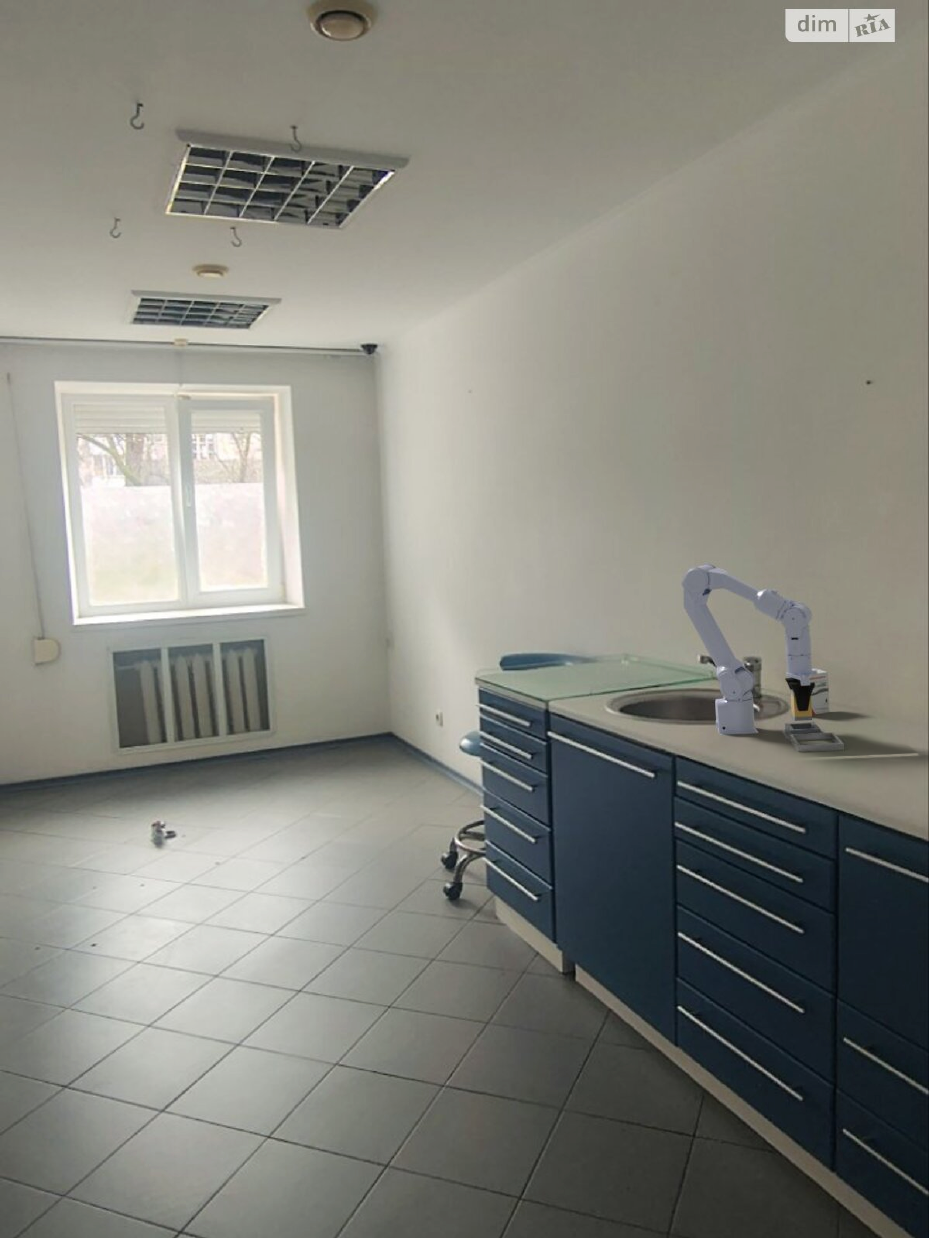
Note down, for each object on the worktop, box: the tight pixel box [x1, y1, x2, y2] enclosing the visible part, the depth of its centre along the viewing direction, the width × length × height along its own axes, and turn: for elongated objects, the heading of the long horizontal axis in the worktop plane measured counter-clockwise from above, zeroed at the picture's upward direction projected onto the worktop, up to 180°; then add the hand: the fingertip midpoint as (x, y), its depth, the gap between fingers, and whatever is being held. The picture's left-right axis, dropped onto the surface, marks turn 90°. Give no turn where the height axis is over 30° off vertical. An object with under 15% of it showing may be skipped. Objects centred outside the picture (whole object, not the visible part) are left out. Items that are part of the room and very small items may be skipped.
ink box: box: [790, 668, 830, 716], centre depth 233 cm, size 8×5×12 cm, turn 103°
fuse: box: [789, 688, 813, 722], centre depth 214 cm, size 4×4×7 cm
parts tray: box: [789, 732, 845, 753], centre depth 204 cm, size 10×10×2 cm
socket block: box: [780, 721, 823, 740], centre depth 215 cm, size 9×9×2 cm
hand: (801, 708), depth 214 cm, fingers closed on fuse, 4 cm apart
